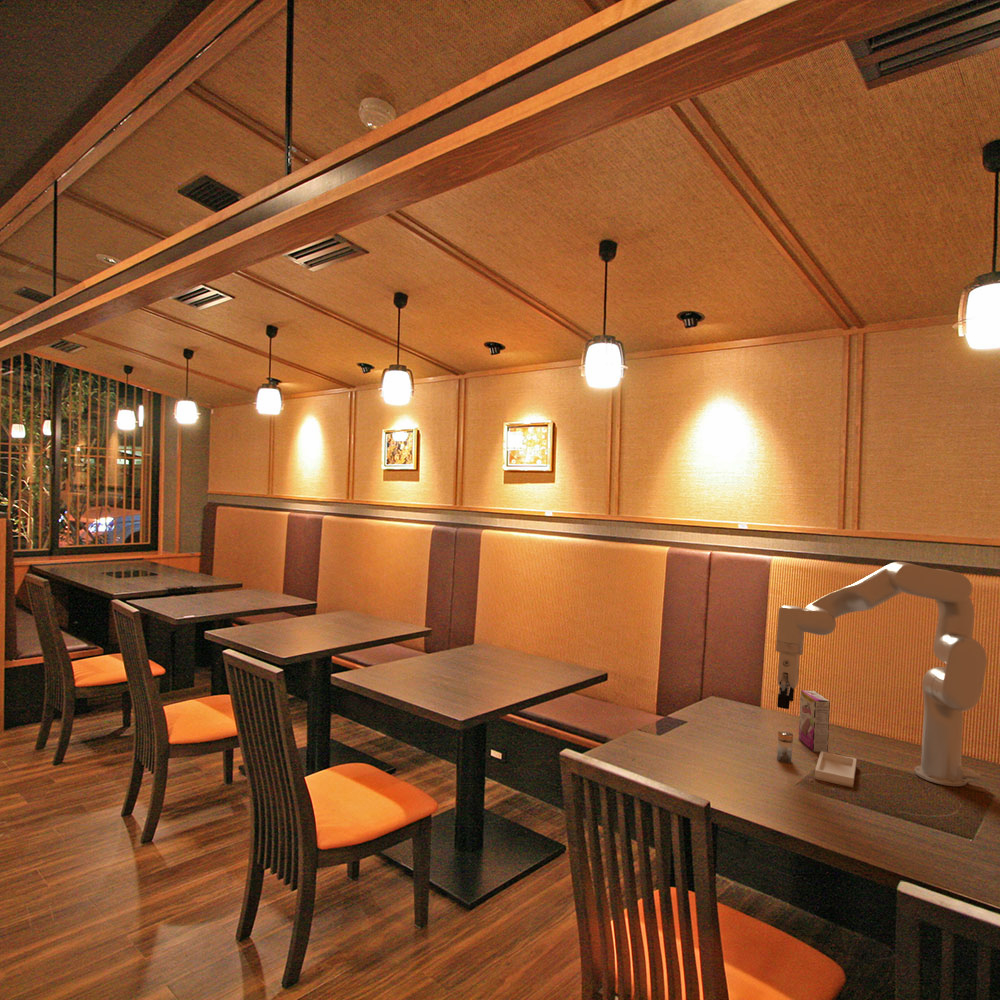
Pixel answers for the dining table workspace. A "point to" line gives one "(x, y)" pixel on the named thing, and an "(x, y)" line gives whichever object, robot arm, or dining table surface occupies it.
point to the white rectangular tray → (836, 769)
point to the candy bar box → (814, 720)
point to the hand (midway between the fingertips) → (785, 704)
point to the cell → (784, 747)
